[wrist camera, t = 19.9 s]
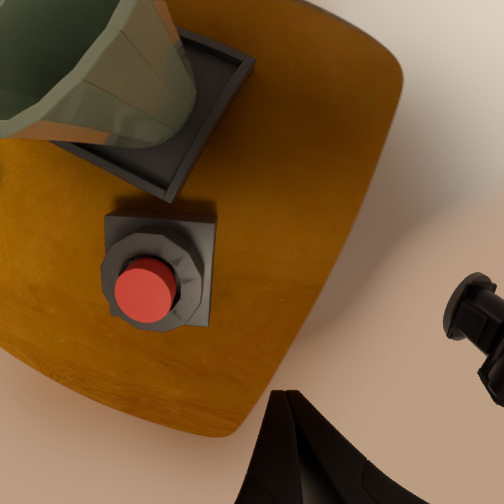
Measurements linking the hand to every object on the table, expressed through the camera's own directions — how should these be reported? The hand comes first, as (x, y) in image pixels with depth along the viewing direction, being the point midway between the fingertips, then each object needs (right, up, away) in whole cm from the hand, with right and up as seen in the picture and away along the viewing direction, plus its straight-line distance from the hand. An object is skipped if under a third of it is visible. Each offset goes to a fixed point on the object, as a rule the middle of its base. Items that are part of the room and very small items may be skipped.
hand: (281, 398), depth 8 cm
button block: (-7, +4, +11) cm, 14 cm away
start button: (-7, +3, +7) cm, 10 cm away
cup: (-8, +14, +7) cm, 18 cm away
